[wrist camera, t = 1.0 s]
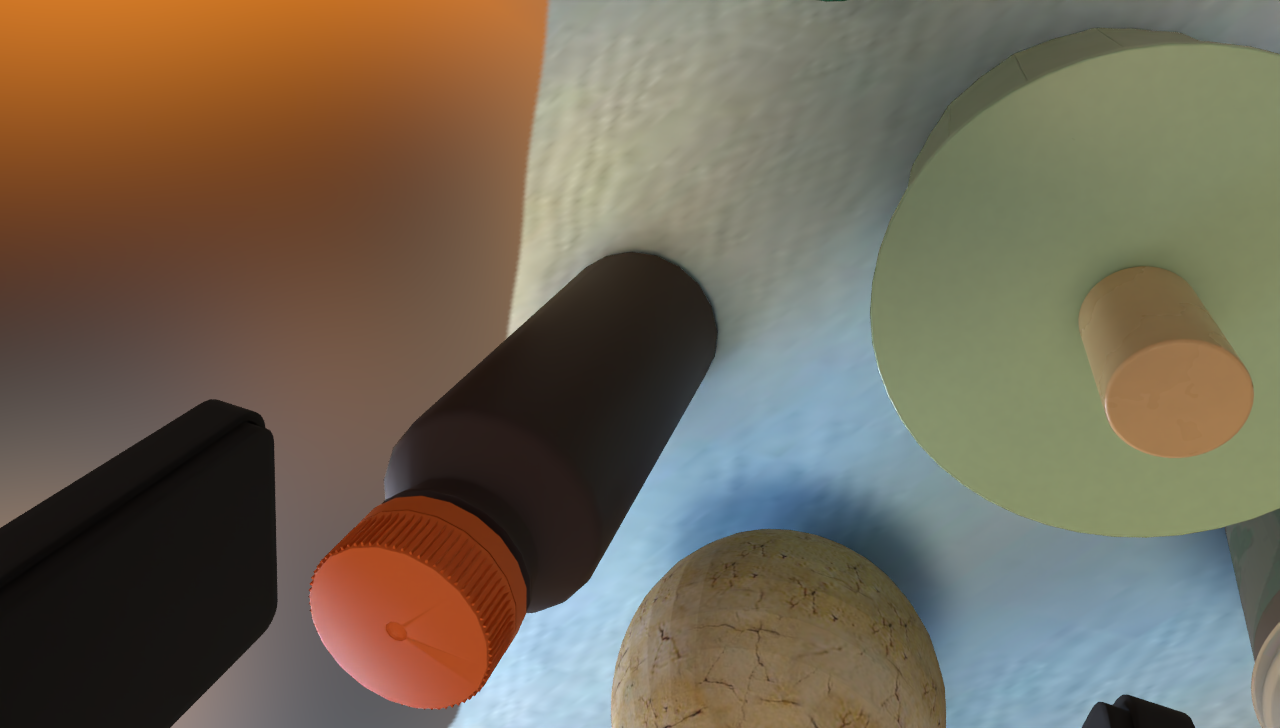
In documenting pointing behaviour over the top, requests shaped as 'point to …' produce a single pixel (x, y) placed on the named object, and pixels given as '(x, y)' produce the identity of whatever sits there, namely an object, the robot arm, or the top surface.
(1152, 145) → the green lid
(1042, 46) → the green pot
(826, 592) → the fossilized egg
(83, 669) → the robot arm
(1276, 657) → the coffee cup
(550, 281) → the top surface
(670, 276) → the bottle
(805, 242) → the top surface
